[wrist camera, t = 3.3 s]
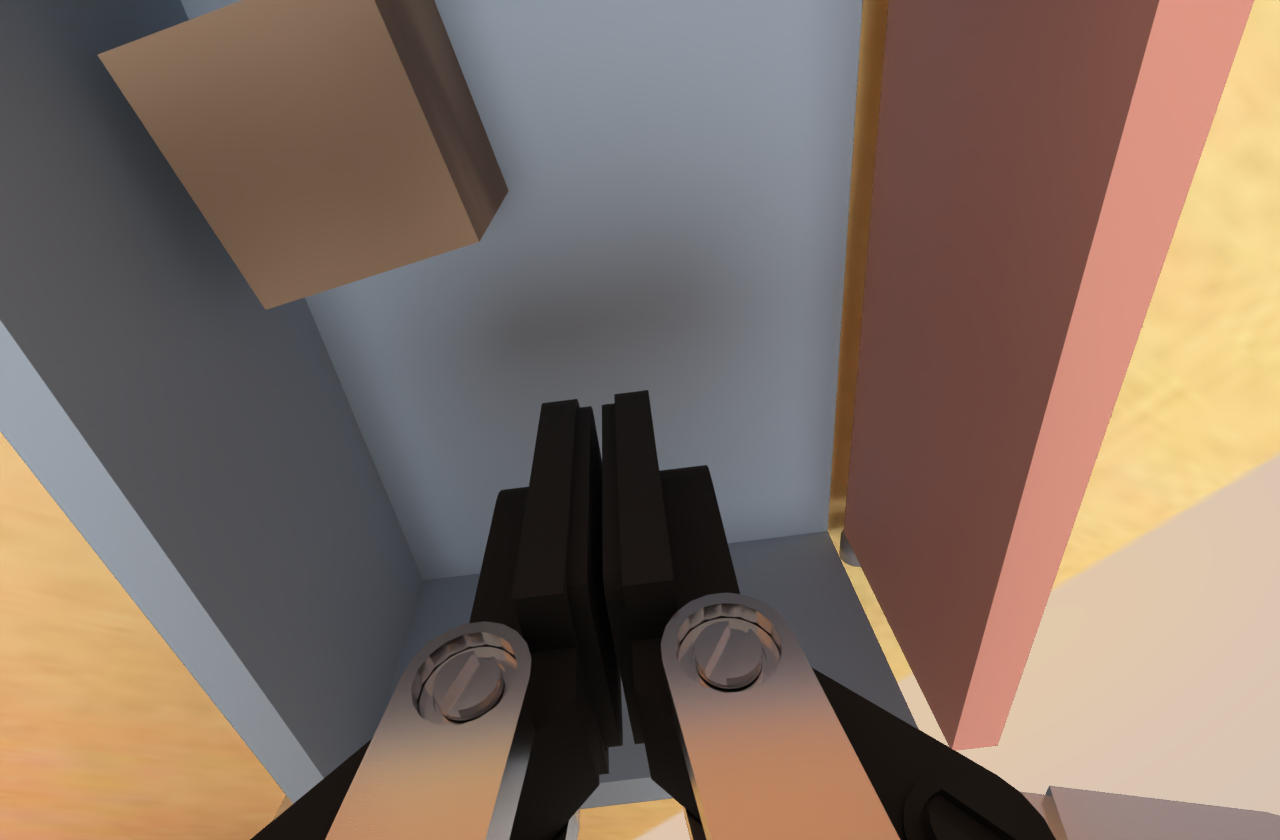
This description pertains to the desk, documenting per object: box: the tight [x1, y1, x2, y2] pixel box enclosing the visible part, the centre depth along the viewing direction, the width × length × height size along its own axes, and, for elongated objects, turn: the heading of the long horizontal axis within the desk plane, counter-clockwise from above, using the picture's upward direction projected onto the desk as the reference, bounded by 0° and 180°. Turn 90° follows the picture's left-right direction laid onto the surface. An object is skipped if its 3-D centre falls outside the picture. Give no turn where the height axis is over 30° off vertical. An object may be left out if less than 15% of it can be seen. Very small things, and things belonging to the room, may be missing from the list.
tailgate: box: [844, 0, 1254, 751], centre depth 12 cm, size 16×1×7 cm, turn 6°
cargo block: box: [98, 0, 509, 310], centre depth 11 cm, size 4×4×4 cm
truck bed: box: [0, 0, 919, 809], centre depth 13 cm, size 18×15×8 cm
